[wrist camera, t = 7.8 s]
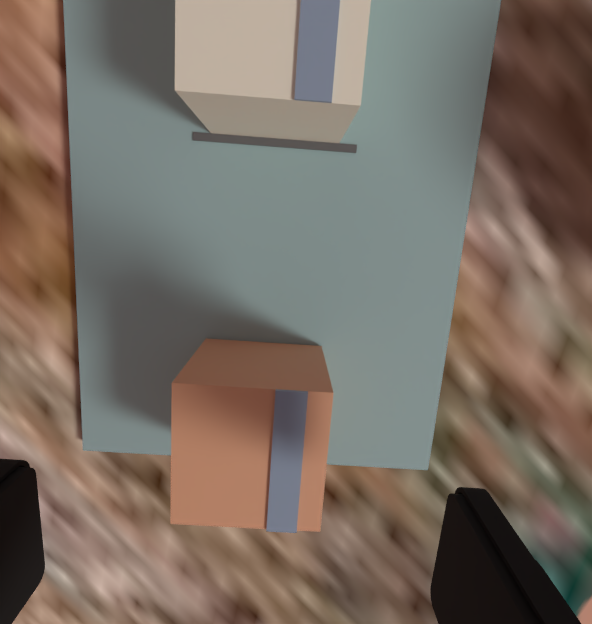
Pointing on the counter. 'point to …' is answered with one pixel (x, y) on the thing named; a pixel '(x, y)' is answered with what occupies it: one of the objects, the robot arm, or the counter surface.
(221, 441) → the stub
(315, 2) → the beige box
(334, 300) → the mat
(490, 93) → the counter surface
